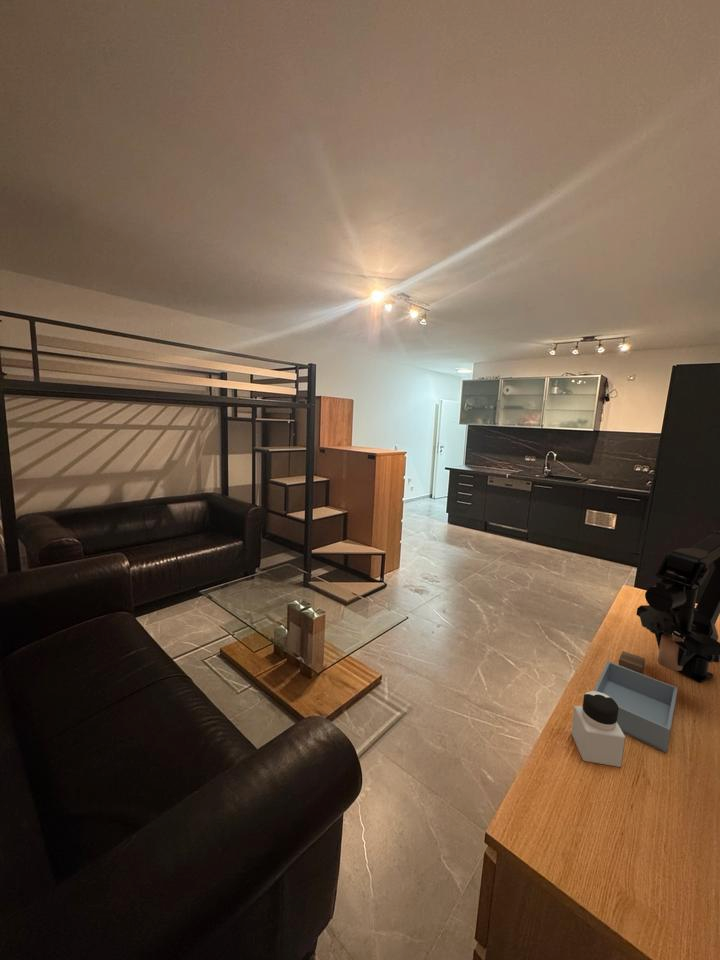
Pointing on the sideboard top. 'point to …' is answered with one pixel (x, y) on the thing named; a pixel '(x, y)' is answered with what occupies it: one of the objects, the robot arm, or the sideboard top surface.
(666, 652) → the terracotta cylinder
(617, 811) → the sideboard top surface
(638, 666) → the walnut cube
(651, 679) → the tote
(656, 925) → the sideboard top surface
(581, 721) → the medicine bottle
